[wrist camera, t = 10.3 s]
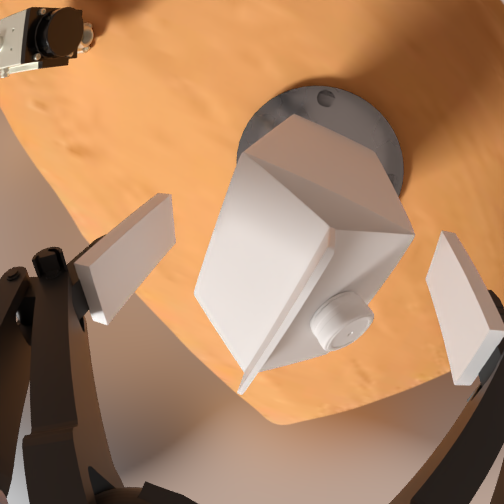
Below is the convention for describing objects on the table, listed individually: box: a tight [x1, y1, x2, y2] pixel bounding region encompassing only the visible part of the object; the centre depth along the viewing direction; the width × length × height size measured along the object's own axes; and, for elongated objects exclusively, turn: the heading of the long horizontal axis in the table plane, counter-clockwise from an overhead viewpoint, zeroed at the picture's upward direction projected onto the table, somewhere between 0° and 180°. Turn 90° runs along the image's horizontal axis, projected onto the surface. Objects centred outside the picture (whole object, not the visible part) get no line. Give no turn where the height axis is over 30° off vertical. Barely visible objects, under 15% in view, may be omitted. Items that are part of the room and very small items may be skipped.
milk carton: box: [194, 114, 415, 395], centre depth 17 cm, size 7×7×19 cm
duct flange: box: [237, 86, 404, 197], centre depth 26 cm, size 14×14×1 cm
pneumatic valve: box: [0, 7, 93, 78], centre depth 20 cm, size 6×12×12 cm, turn 81°
